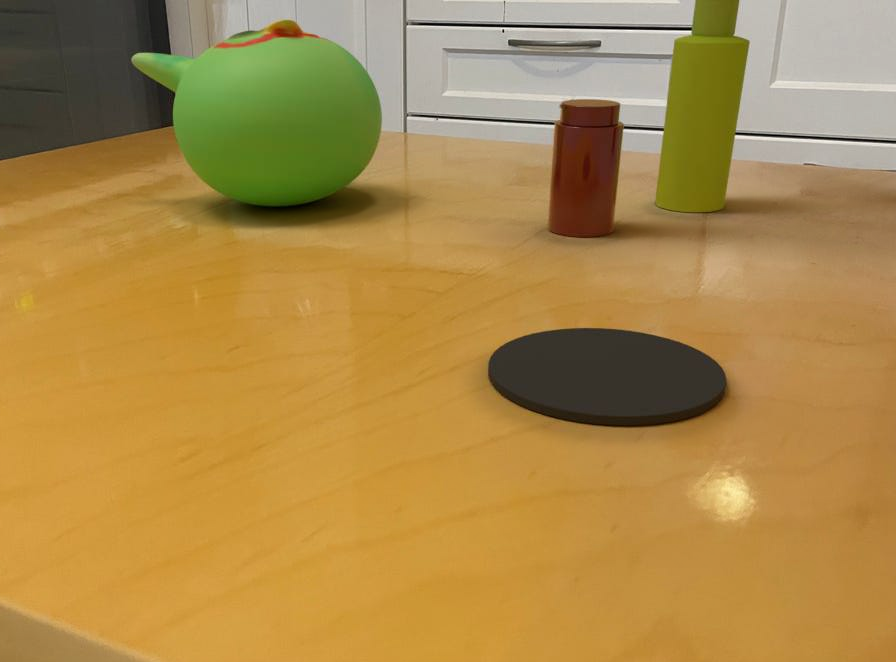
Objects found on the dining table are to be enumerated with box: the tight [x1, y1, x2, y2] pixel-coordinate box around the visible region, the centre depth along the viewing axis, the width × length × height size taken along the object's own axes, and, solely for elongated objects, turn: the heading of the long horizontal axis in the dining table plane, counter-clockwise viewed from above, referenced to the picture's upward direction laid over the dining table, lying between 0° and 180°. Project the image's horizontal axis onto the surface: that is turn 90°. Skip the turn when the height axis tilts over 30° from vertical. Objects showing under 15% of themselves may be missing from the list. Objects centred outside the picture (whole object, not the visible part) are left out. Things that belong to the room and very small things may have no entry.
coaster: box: [487, 327, 727, 427], centre depth 48 cm, size 12×12×1 cm
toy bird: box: [131, 18, 383, 207], centre depth 80 cm, size 18×17×15 cm
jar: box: [547, 98, 625, 238], centre depth 73 cm, size 5×5×9 cm
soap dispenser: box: [654, 0, 751, 213], centre depth 78 cm, size 6×7×20 cm
